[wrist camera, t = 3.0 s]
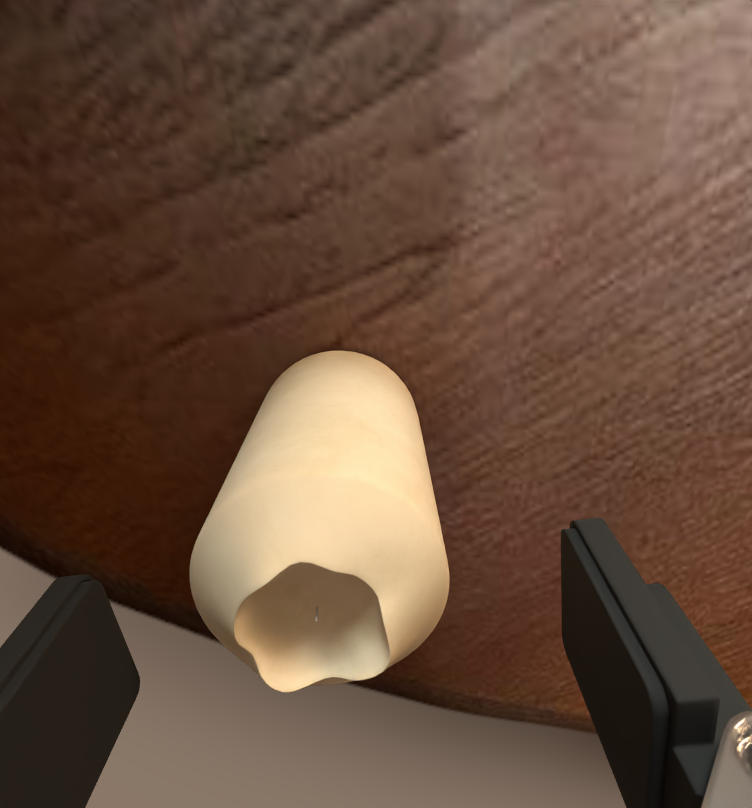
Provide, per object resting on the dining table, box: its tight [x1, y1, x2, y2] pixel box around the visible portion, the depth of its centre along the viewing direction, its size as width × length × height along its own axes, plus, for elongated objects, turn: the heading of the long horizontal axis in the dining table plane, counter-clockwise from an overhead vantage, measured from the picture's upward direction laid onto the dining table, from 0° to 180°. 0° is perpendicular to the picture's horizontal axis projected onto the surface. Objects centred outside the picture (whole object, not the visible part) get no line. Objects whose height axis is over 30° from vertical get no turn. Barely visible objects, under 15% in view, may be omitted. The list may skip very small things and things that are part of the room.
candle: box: [190, 351, 449, 693], centre depth 15 cm, size 6×6×10 cm
